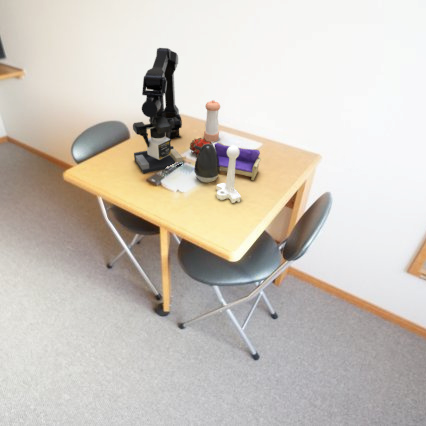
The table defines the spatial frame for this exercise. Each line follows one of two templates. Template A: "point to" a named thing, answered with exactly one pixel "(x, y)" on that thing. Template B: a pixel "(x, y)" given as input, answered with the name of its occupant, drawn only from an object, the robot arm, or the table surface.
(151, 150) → the medicine bottle
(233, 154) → the joystick
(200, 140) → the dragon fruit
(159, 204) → the table surface
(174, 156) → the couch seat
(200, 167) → the dark grey tapered dome
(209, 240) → the table surface
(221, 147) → the toy sofa
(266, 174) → the table surface
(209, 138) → the pepper shaker
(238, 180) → the table surface
